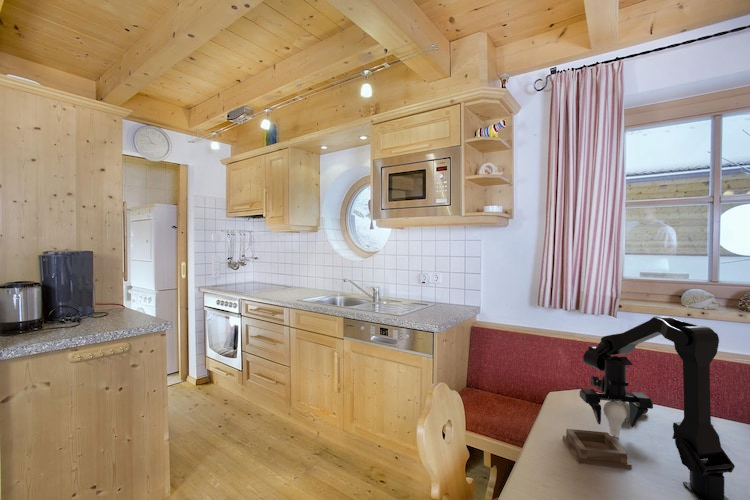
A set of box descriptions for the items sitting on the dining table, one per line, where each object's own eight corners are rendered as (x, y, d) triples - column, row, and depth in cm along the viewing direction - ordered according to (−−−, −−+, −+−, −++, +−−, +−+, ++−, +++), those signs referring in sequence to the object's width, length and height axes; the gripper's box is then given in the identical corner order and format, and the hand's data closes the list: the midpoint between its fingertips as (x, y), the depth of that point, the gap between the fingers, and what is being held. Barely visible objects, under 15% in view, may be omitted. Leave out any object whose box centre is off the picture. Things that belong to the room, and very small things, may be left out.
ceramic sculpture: (606, 392, 124) (614, 383, 134) (605, 417, 123) (614, 406, 134) (643, 401, 116) (649, 391, 127) (643, 428, 116) (649, 416, 127)
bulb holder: (631, 468, 94) (631, 455, 94) (578, 463, 97) (579, 450, 97) (608, 442, 107) (609, 431, 107) (562, 438, 110) (562, 427, 110)
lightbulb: (598, 434, 112) (599, 399, 112) (610, 430, 115) (610, 396, 115) (618, 443, 107) (619, 407, 107) (631, 439, 109) (631, 403, 109)
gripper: (634, 369, 117) (634, 416, 117) (573, 365, 120) (573, 411, 120) (654, 381, 106) (654, 433, 106) (586, 377, 110) (586, 427, 109)
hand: (614, 425), depth 111 cm, fingers open, 9 cm apart
